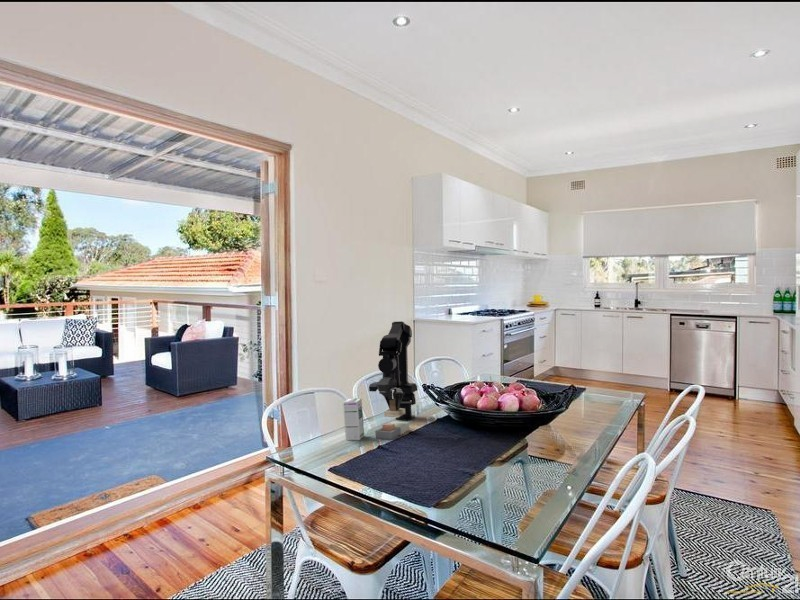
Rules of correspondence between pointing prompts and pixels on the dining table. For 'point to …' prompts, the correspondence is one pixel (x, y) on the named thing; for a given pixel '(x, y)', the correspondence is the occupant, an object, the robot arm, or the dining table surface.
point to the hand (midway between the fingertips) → (394, 409)
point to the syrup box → (353, 419)
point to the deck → (401, 425)
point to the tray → (387, 434)
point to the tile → (388, 427)
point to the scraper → (394, 410)
